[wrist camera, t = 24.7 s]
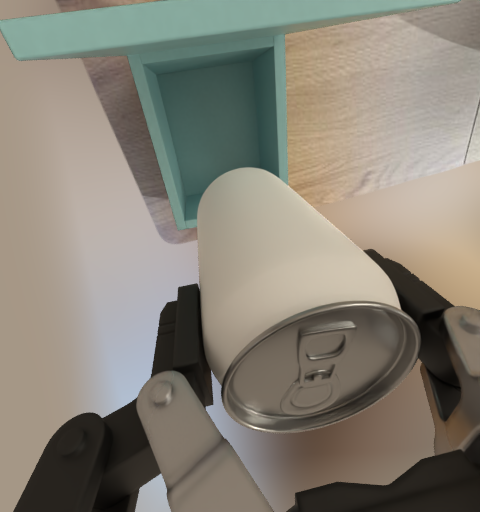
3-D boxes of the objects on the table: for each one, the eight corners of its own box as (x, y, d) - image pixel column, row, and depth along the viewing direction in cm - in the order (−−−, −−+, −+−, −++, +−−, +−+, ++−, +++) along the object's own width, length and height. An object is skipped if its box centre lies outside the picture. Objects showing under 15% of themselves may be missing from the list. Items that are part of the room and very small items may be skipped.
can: (201, 259, 18) (213, 456, 8) (191, 168, 15) (189, 309, 5) (287, 251, 19) (394, 419, 9) (295, 162, 16) (485, 272, 6)
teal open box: (267, 186, 37) (288, 210, 29) (181, 201, 37) (177, 230, 28) (258, 50, 29) (284, 28, 20) (145, 66, 28) (125, 50, 20)
